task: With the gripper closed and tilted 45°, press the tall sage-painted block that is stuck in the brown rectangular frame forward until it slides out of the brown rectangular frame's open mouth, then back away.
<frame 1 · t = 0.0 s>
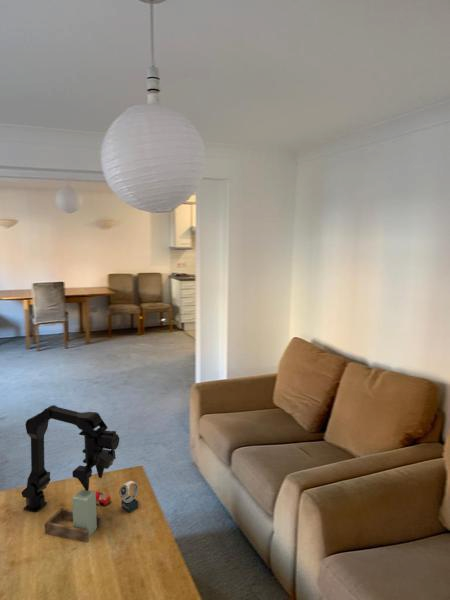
hand: (93, 483, 167), 15 cm above the table, tool pointing down, fingers open, 9 cm apart
watch: (129, 508, 177), on the table
brown rectangular frame: (73, 529, 163), on the table
block: (84, 513, 161), point 8 cm above the table, slide at 0.0 cm, touching gripper
race car: (95, 502, 181), on the table
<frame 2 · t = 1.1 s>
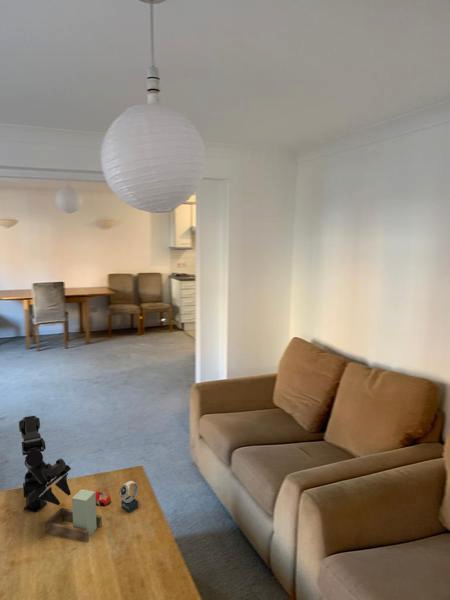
hand: (64, 499, 163), 11 cm above the table, tool tilted 45°, fingers open, 6 cm apart
block: (84, 513, 161), point 8 cm above the table, slide at 0.0 cm
everything else where it was.
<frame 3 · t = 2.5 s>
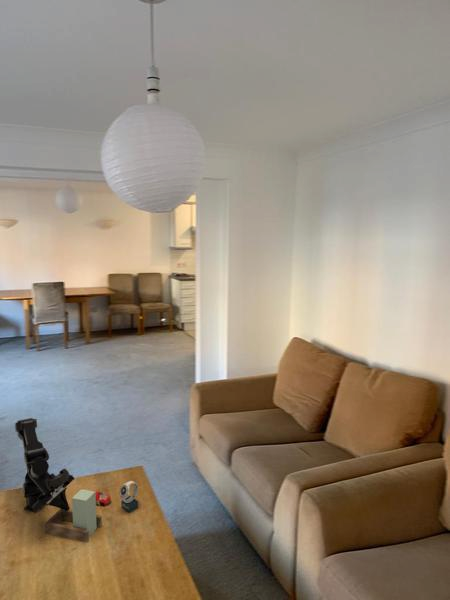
hand: (68, 509, 163), 8 cm above the table, tool tilted 45°, fingers closed
nothing on the table moved.
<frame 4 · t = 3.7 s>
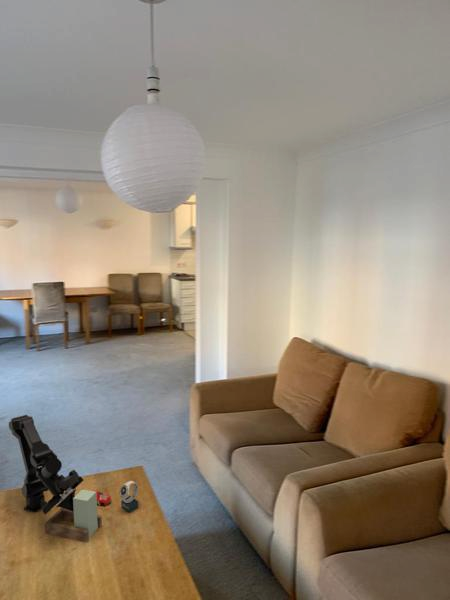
hand: (77, 511, 162), 8 cm above the table, tool tilted 45°, fingers closed, pressing on block
block: (85, 513, 161), point 8 cm above the table, slide at 0.4 cm, touching gripper
everything else where it was.
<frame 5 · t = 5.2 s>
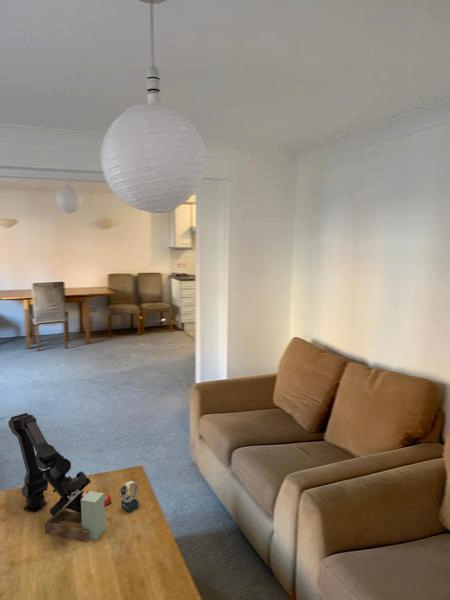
hand: (85, 513, 161), 8 cm above the table, tool tilted 45°, fingers closed, pressing on block
block: (93, 515, 160), point 8 cm above the table, slide at 3.7 cm, touching gripper
everything else where it was.
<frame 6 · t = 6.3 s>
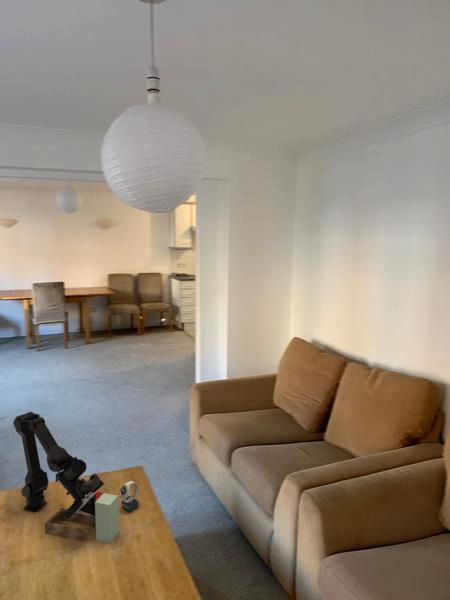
hand: (99, 516, 159), 8 cm above the table, tool tilted 45°, fingers closed, pressing on block
block: (107, 517, 158), point 8 cm above the table, slide at 9.6 cm, touching gripper
everything else where it was.
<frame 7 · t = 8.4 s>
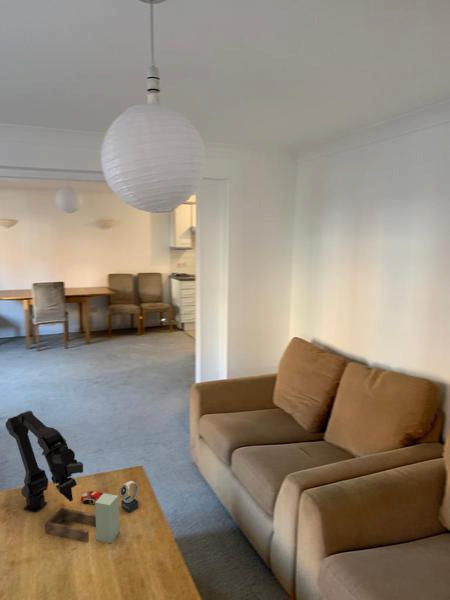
hand: (71, 500, 165), 10 cm above the table, tool tilted 20°, fingers closed
block: (107, 517, 158), point 8 cm above the table, slide at 9.7 cm
everything else where it was.
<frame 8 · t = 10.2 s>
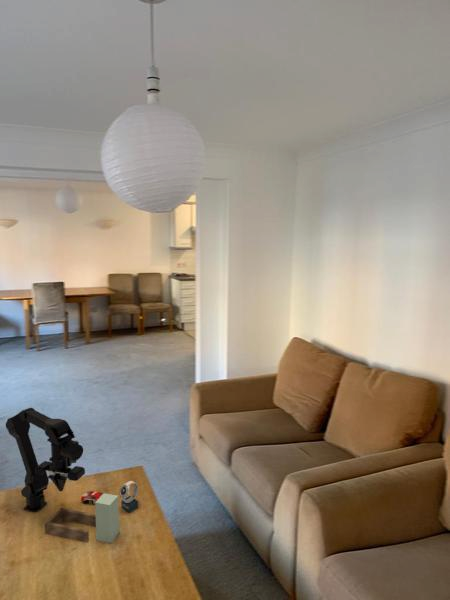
hand: (61, 490, 168), 12 cm above the table, tool pointing down, fingers closed
nothing on the table moved.
at the end: block slide at 9.7 cm; watch moved 0.2 cm from its start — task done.
